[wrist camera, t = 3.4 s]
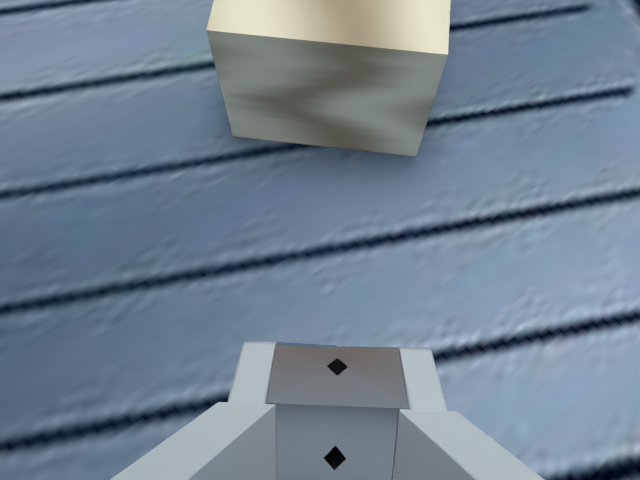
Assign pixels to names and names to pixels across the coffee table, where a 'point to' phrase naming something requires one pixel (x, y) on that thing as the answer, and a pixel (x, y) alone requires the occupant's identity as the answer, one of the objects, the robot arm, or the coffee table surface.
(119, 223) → the coffee table surface
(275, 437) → the robot arm
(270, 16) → the wooden block
